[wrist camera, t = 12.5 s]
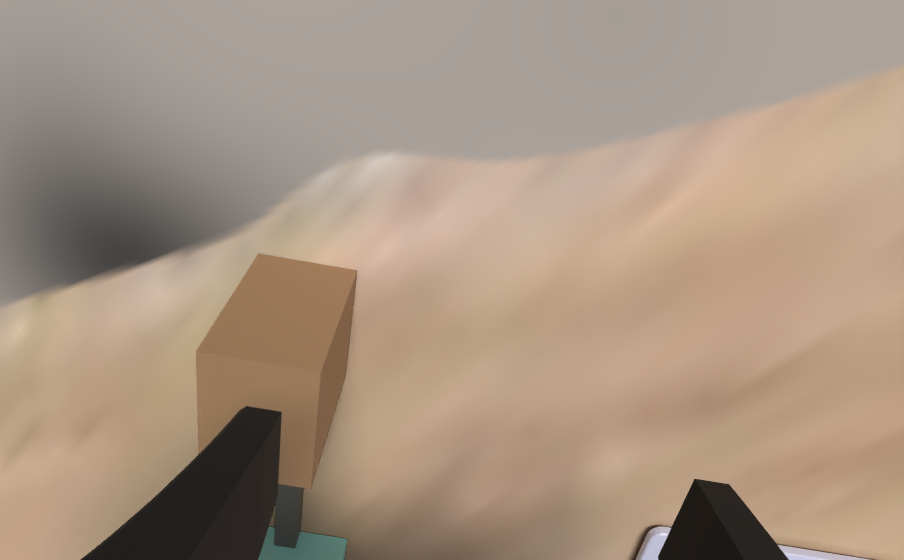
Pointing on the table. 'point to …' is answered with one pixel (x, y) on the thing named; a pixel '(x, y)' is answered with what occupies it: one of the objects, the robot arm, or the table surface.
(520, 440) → the table surface
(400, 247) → the table surface
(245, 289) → the brown tall block
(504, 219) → the table surface
